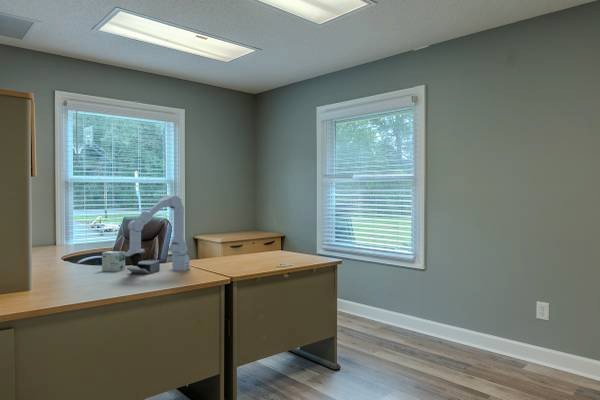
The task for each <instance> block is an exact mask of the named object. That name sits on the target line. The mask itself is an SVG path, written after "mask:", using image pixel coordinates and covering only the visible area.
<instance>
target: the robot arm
mask: <svg viewBox="0 0 600 400" xmlns="http://www.w3.org/2000/svg"><path fill="white" fill-rule="evenodd" d="M167 207H168V208H170V209H171V210H172V211H173V238H172V240H171V243H170V247H169V250H170V252H171V254H172V255H171V257H172V258H171V261H172V262H171V268H169V270H170V271H182V272H183V271H187V270H188V269H189V270H190V269H191V267H190V265H191V264H190V255H188V254H186V253H188V249H189V248H188V245H187V241H186V239H185V238H184V229H185V228H184V223H185V221H184V218H185V217H184V215H185V214H184V213H185V209H184V205H183V203H182V198H180V197H179V195H175V194H174V195H170V194H165V195H163V197H161V198H160V199H159V200H158V201H157V203H155V204H154V205H153V206H152V207H151V208H150V209H149V210H143V211H141V212H140V213H141V214H139V215H138V216H137V217H135V218H134V219H133V220H130V221H129V222H128V225H127V229H128V230H129V249H128V250H127V251H124V252H125V257H128V258H129V259H130V262H131V264H132V265H131V266H138V262H139V261H140V259H141V257H142V253H145V248H142V230H143V229H144V226H145V225H147V223H149V222H150V221H151V220H152V219H153V216H154V215H155V214H157V213H158V212H159V211H161V210H162V209H163V208H167Z"/></svg>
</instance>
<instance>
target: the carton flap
mask: <svg viewBox="0 0 600 400" xmlns="http://www.w3.org/2000/svg"><path fill="white" fill-rule="evenodd" d="M126 269H127V270H128V271H129V272H131V273H134V274H151V273H150V272H149V271H147V270H146V269H141V268H139V267H137V266H133V265H128V266H127V268H126Z"/></svg>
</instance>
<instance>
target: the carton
mask: <svg viewBox="0 0 600 400" xmlns="http://www.w3.org/2000/svg"><path fill="white" fill-rule="evenodd" d="M160 263H161V262H160V261H154V260H152V261H151V260H141V261H140V260H139V262H138V266H137V267H139V268H141V269H146V270H147V271H149V272H150V273H149V274H153V273H156V272H159V271H160V268H161V267H160Z"/></svg>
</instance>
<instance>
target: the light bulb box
mask: <svg viewBox="0 0 600 400" xmlns="http://www.w3.org/2000/svg"><path fill="white" fill-rule="evenodd" d="M125 252H126V251H117V250H107V251H102V253H101V272H109V271H111V272H112V271H114V272H121V271H123V270H126V256H125Z"/></svg>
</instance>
